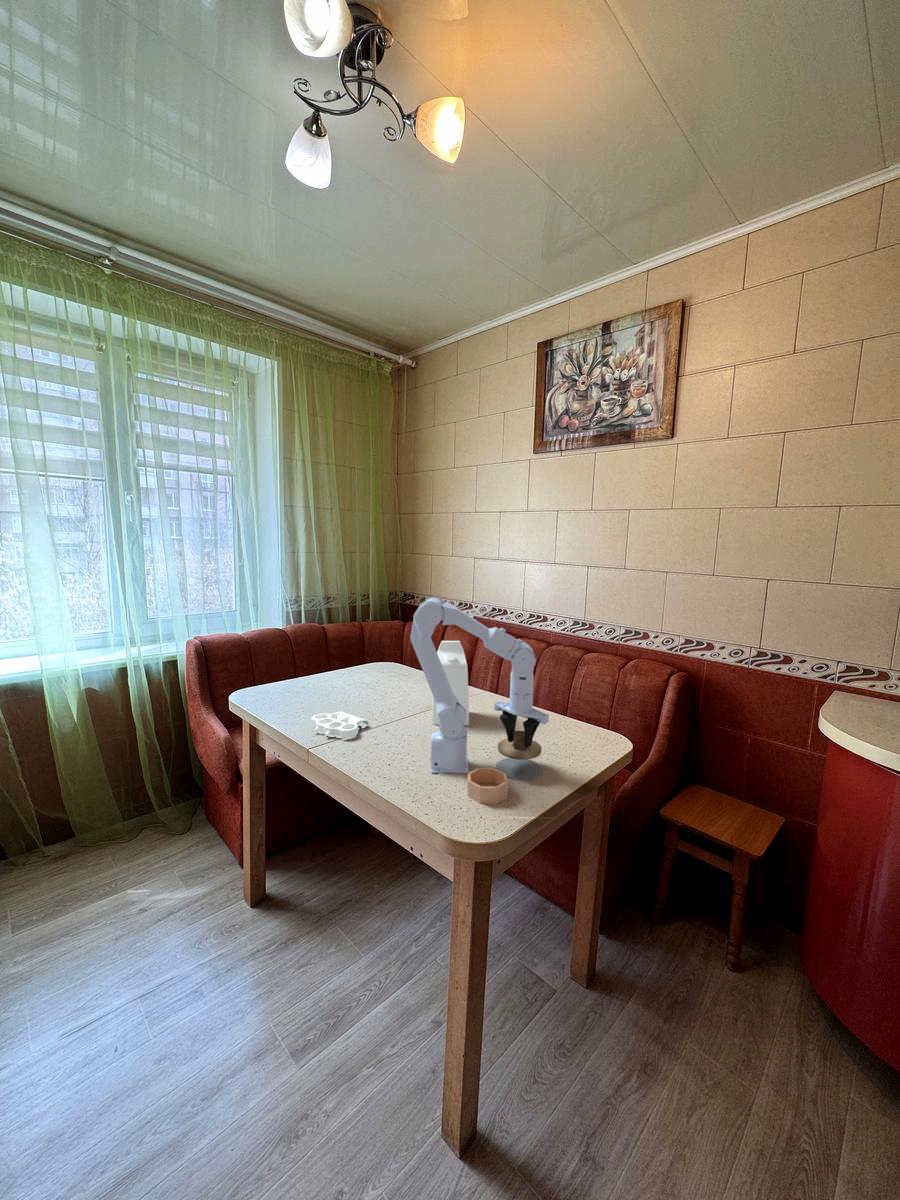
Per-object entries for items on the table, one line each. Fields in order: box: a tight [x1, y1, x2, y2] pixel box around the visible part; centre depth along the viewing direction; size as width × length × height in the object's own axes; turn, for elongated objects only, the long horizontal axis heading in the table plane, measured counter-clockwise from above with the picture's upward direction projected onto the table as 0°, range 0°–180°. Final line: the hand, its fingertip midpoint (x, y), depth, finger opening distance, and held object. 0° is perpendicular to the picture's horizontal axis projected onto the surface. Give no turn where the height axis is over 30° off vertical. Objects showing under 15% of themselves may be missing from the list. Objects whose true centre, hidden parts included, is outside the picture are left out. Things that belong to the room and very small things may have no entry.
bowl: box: [466, 767, 509, 805], centre depth 104 cm, size 9×9×4 cm
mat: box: [495, 757, 544, 782], centre depth 115 cm, size 12×12×1 cm
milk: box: [431, 640, 470, 726], centre depth 148 cm, size 12×12×26 cm
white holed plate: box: [310, 711, 370, 738], centre depth 139 cm, size 3×18×15 cm
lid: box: [497, 730, 542, 760], centre depth 114 cm, size 11×11×4 cm
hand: (519, 743), depth 114 cm, fingers closed on lid, 4 cm apart
